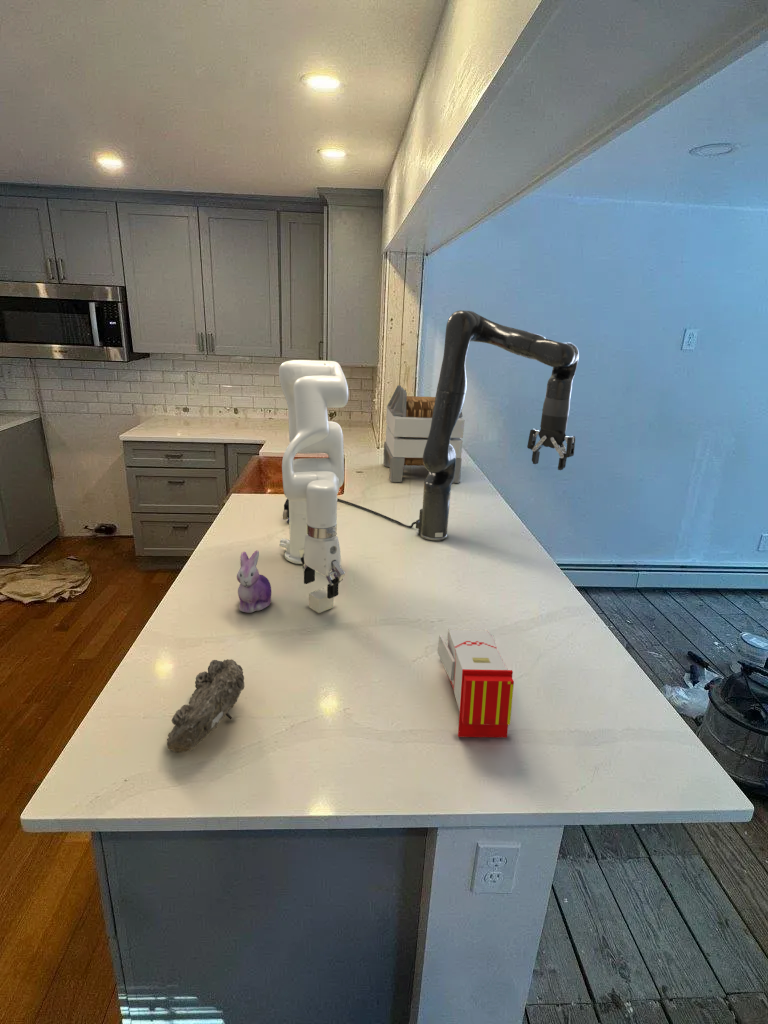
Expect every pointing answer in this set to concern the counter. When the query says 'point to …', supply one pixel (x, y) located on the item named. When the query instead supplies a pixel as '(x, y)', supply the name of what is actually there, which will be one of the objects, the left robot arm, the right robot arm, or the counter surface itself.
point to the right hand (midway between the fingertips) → (547, 466)
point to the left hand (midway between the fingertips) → (320, 589)
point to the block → (320, 601)
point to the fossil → (206, 705)
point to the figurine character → (286, 510)
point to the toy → (478, 682)
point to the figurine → (252, 585)
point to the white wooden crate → (413, 433)
